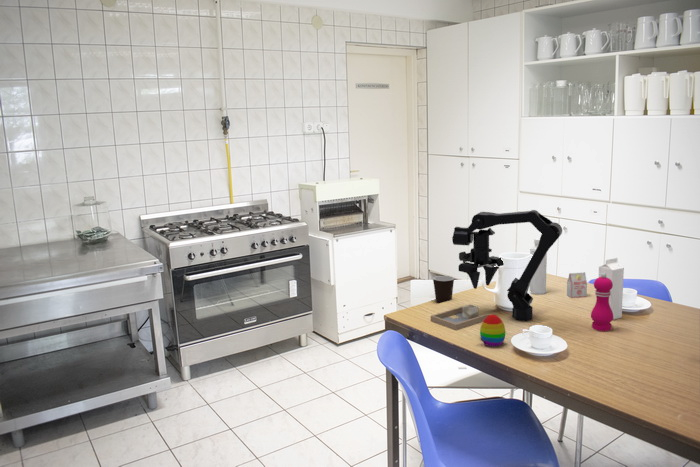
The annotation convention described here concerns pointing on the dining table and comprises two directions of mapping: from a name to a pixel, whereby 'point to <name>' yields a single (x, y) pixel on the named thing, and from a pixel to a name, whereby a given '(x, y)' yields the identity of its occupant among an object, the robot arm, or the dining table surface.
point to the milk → (614, 285)
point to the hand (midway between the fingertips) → (481, 286)
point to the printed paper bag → (577, 285)
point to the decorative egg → (492, 331)
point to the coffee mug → (443, 288)
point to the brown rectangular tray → (456, 319)
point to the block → (470, 311)
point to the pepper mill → (602, 304)
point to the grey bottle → (539, 273)
